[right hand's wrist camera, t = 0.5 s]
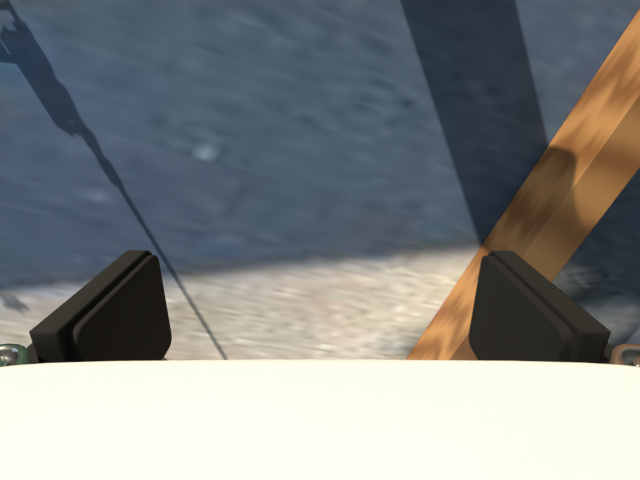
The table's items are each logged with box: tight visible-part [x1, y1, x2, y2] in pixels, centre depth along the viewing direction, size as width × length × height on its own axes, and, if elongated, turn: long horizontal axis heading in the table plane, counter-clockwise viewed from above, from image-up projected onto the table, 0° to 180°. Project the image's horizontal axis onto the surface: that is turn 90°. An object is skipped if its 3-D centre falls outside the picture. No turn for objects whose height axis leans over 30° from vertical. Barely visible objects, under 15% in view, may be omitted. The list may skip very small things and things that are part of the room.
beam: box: [406, 9, 640, 361], centre depth 34 cm, size 83×4×7 cm, turn 155°
